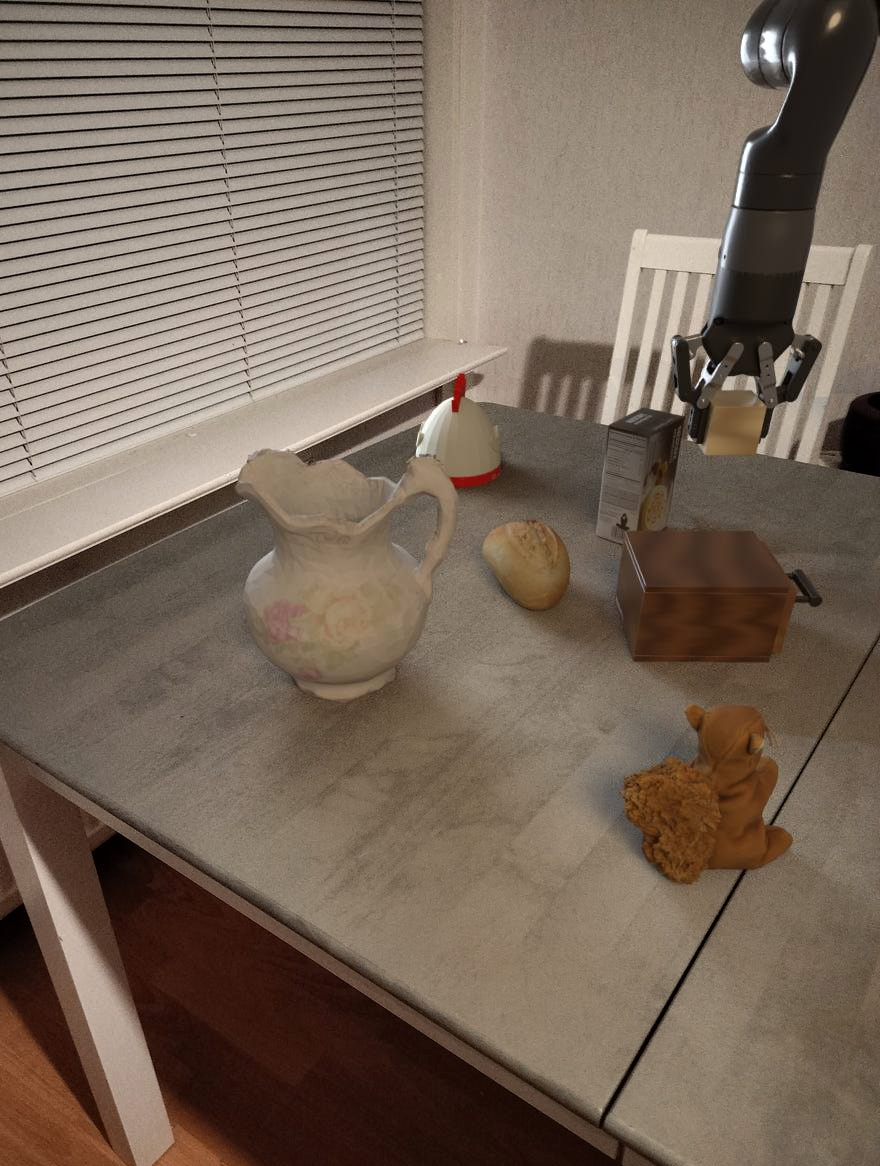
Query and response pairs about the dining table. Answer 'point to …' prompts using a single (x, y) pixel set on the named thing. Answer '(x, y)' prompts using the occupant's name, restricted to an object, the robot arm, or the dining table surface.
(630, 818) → the stuffed squirrel
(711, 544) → the cabinet
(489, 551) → the bread roll
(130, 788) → the dining table surface
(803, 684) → the dining table surface
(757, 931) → the dining table surface
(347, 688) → the ceramic pitcher
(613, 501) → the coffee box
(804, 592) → the drawer
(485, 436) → the white chicken egg cooker
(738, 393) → the block
